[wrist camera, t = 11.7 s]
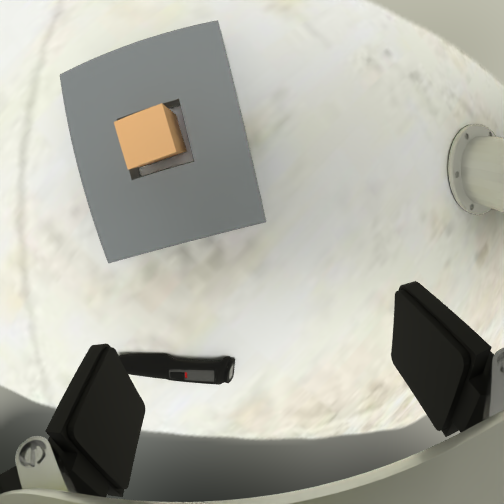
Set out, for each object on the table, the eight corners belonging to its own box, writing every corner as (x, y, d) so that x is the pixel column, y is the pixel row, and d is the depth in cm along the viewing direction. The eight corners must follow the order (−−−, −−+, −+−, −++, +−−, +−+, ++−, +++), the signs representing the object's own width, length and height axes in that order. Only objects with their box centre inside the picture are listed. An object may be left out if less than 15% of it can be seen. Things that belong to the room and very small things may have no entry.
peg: (176, 114, 28) (162, 103, 20) (187, 151, 29) (176, 151, 22) (138, 128, 28) (113, 122, 20) (149, 164, 29) (127, 169, 22)
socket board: (217, 32, 25) (217, 20, 22) (261, 214, 32) (266, 221, 29) (74, 80, 25) (59, 74, 22) (118, 251, 32) (108, 263, 28)
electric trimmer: (116, 343, 36) (109, 358, 33) (235, 354, 38) (236, 370, 35) (120, 365, 37) (114, 380, 34) (233, 375, 39) (234, 391, 36)
